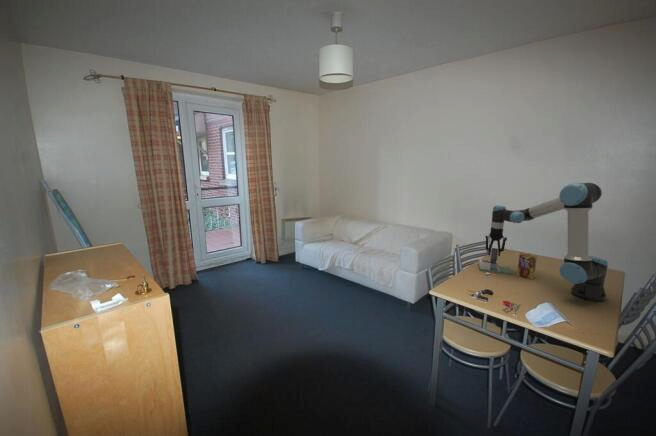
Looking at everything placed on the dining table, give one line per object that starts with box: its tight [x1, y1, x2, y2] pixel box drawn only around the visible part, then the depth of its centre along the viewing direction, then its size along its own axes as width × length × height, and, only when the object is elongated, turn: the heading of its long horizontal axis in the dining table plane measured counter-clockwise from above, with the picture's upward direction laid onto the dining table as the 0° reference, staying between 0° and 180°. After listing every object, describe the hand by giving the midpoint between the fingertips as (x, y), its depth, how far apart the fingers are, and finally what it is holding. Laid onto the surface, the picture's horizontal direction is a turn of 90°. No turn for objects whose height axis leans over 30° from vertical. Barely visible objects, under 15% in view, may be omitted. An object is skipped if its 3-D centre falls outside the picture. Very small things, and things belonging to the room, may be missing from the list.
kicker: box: [488, 247, 499, 269], centre depth 206 cm, size 6×5×14 cm
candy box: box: [516, 252, 538, 280], centre depth 193 cm, size 9×4×15 cm, turn 39°
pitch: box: [477, 258, 514, 276], centre depth 207 cm, size 13×20×6 cm, turn 69°
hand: (493, 259), depth 207 cm, fingers closed on kicker, 4 cm apart
